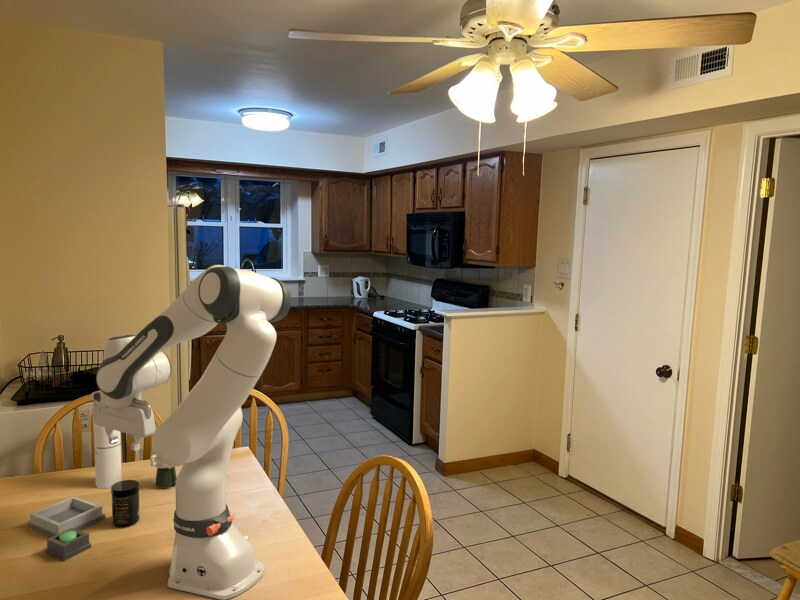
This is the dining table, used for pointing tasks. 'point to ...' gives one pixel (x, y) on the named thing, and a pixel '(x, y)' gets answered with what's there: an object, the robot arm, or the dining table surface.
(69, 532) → the button
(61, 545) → the button housing
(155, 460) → the character mug
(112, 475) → the cylindrical container
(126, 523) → the supplement container
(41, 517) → the square shallow tray
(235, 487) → the dining table surface
